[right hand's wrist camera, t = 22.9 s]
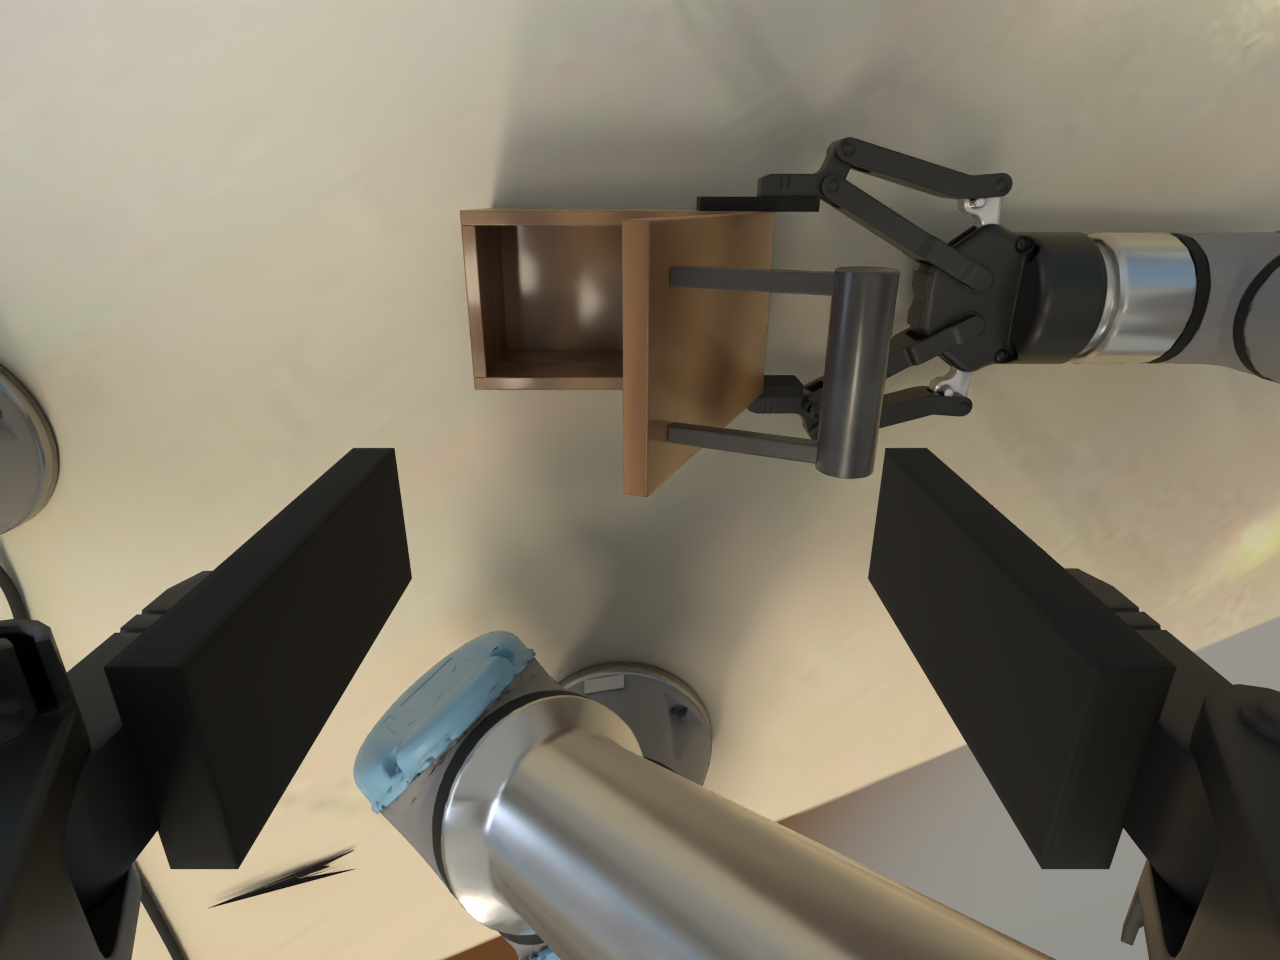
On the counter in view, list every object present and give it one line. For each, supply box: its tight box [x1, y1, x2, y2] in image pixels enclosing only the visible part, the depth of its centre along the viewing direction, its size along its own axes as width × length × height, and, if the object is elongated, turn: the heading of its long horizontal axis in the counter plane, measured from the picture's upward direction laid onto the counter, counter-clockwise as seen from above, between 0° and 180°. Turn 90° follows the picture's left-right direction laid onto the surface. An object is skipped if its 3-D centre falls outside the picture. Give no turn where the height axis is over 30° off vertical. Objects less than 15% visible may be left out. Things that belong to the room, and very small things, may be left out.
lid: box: [622, 212, 900, 497], centre depth 31 cm, size 17×10×9 cm
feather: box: [210, 850, 354, 908], centre depth 69 cm, size 2×28×2 cm
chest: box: [460, 208, 763, 390], centre depth 44 cm, size 16×10×9 cm, turn 90°
